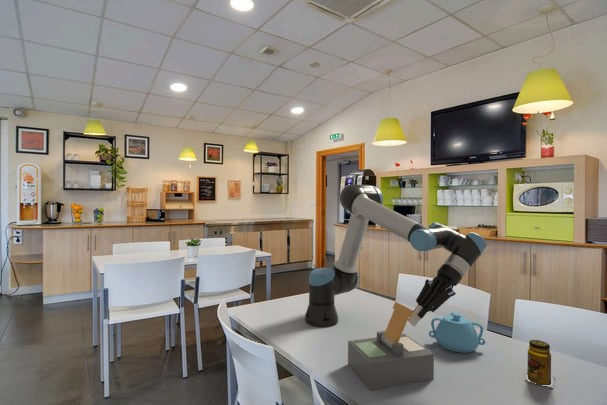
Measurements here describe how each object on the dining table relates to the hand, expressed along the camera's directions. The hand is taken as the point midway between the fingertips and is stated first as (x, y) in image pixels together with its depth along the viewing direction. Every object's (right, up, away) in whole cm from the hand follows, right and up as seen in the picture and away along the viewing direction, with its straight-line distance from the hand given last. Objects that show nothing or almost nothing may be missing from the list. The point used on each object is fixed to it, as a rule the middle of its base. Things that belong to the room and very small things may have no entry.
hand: (410, 323), depth 112 cm
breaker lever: (-8, -7, -2) cm, 11 cm away
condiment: (+39, -16, -6) cm, 42 cm away
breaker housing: (-8, -15, -2) cm, 17 cm away
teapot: (+23, -15, +19) cm, 34 cm away
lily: (-1, -15, +19) cm, 24 cm away
